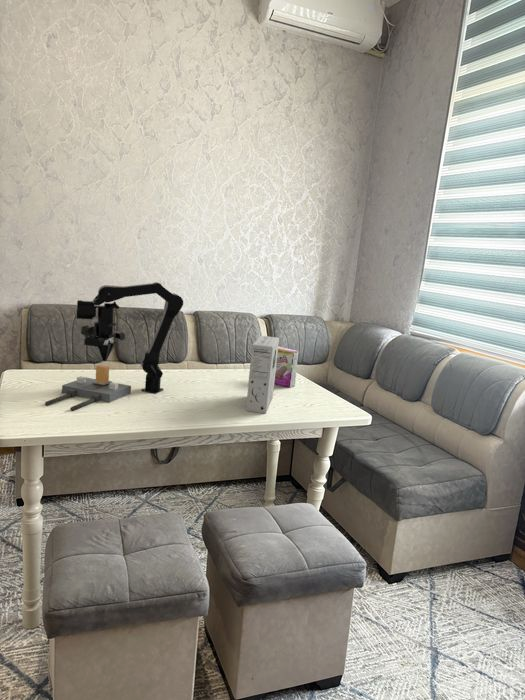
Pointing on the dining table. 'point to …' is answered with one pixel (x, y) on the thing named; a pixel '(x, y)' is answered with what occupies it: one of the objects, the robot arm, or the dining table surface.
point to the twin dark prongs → (68, 397)
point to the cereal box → (262, 374)
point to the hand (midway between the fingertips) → (104, 360)
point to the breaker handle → (102, 375)
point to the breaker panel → (96, 389)
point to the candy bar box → (286, 367)
